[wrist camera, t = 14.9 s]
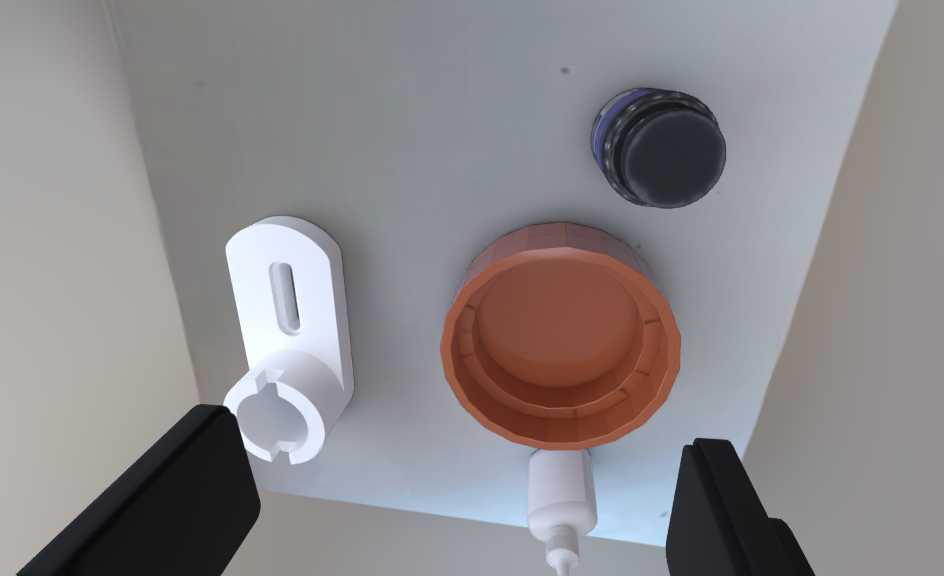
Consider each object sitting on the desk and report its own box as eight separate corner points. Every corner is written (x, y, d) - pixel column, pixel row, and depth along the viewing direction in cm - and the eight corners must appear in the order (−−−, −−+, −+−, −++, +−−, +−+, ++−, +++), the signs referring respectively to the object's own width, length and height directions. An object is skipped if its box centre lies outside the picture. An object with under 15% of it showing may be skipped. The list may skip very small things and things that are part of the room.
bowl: (422, 345, 42) (404, 385, 37) (518, 181, 36) (513, 200, 30) (584, 432, 44) (589, 483, 38) (707, 289, 37) (735, 327, 31)
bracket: (357, 419, 47) (329, 470, 41) (273, 409, 48) (234, 458, 42) (337, 218, 39) (299, 245, 33) (236, 213, 40) (181, 238, 34)
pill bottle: (589, 182, 35) (605, 225, 25) (590, 91, 32) (609, 98, 22) (679, 177, 34) (734, 220, 24) (687, 83, 31) (752, 87, 21)
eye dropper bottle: (531, 434, 45) (526, 550, 34) (593, 442, 44) (608, 563, 33) (527, 470, 46) (521, 591, 36) (586, 478, 46) (598, 604, 35)
